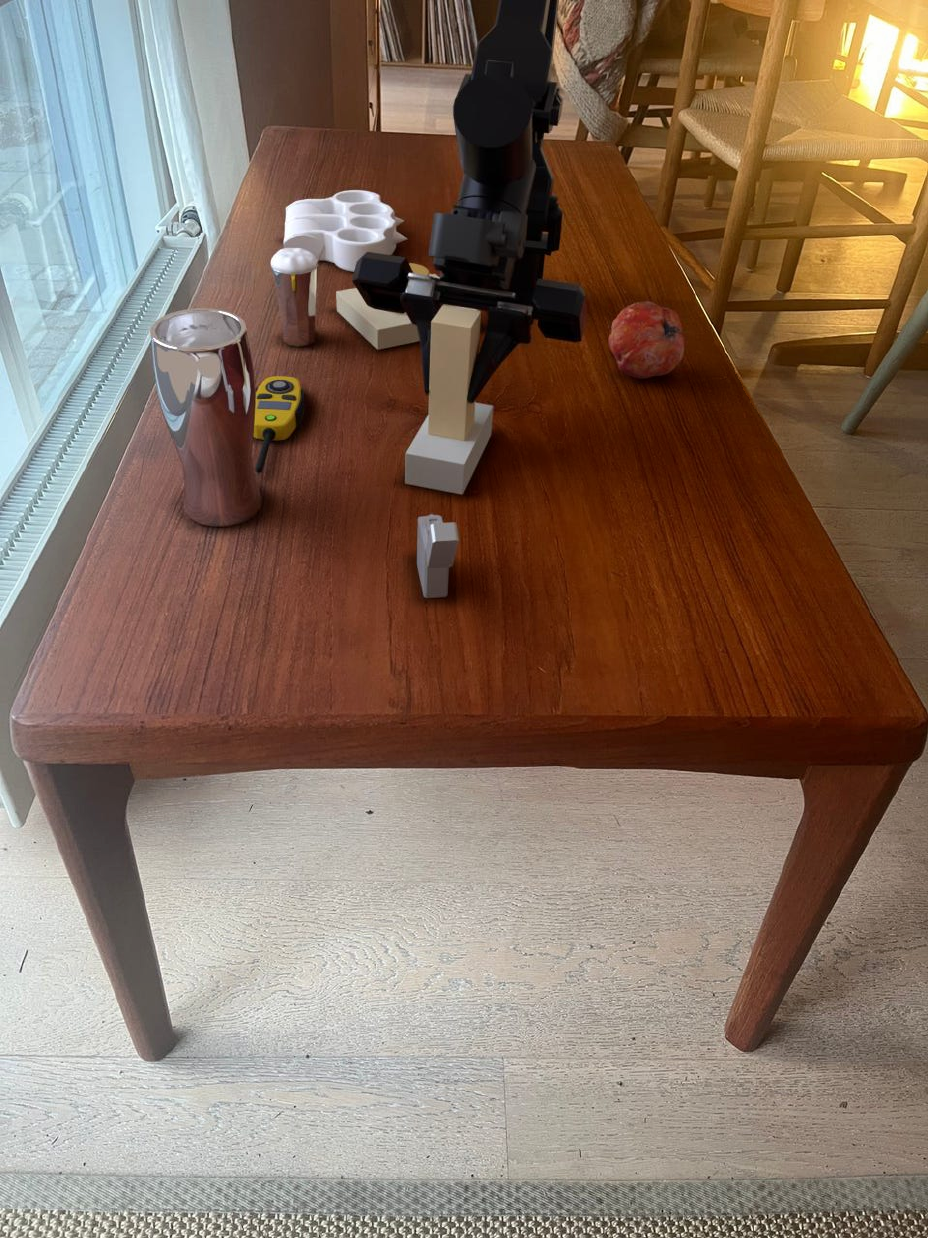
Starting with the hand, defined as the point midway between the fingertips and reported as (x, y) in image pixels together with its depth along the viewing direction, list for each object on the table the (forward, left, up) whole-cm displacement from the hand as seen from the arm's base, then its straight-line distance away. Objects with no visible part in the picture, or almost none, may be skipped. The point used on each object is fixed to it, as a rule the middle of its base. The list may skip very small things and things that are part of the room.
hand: (448, 398), depth 79 cm
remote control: (+11, -11, -7) cm, 17 cm away
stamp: (-1, -1, -7) cm, 7 cm away
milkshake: (+2, -27, -7) cm, 28 cm away
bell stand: (-10, -27, -7) cm, 29 cm away
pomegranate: (-26, -7, -7) cm, 28 cm away
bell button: (-10, -27, -3) cm, 29 cm away
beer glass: (+19, -3, -7) cm, 20 cm away
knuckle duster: (-13, -49, -7) cm, 51 cm away
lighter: (+9, +14, -7) cm, 18 cm away
